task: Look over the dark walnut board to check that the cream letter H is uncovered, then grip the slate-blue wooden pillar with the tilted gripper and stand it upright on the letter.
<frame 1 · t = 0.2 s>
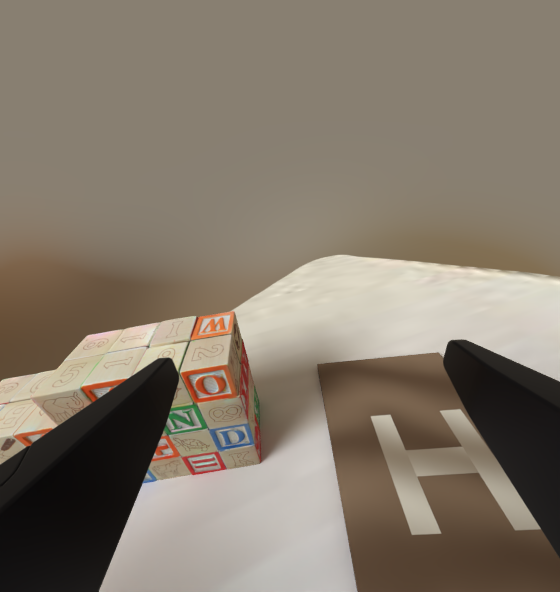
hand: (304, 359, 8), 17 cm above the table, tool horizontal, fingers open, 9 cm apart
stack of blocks: (154, 449, 23), on the table
letter board: (419, 452, 19), on the table
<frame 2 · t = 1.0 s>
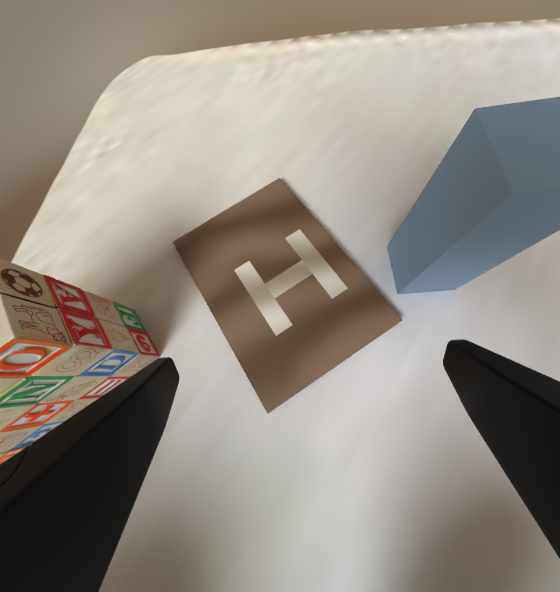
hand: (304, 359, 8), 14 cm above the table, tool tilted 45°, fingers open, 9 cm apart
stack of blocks: (55, 400, 23), on the table
letter board: (275, 278, 24), on the table
blue pillar: (419, 267, 23), on the table
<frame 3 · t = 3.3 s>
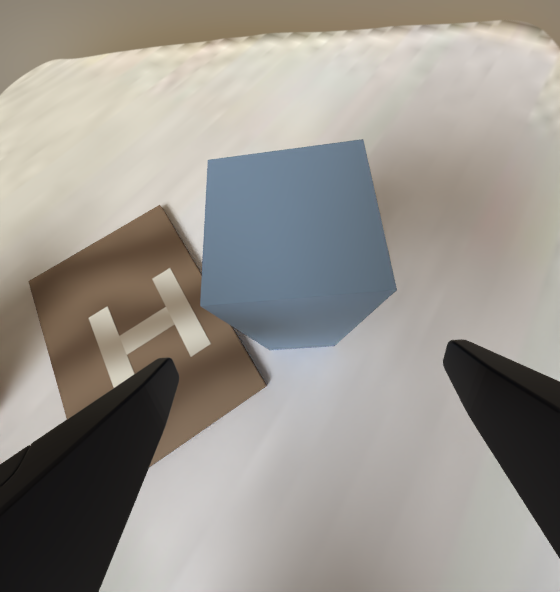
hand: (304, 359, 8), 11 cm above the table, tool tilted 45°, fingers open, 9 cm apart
letter board: (136, 328, 20), on the table
blue pillar: (299, 316, 19), on the table
when the fingers open (8 cm above the table, at t = 9.0 s): blue pillar drops 1 cm, resting on letter board.
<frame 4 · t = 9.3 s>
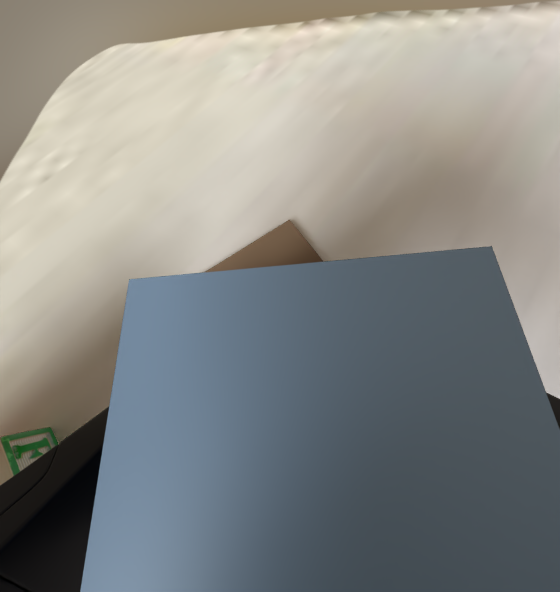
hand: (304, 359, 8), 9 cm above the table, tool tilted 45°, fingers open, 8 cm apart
letter board: (285, 382, 16), on the table
blue pillar: (307, 388, 15), point 1 cm above the table, touching letter board
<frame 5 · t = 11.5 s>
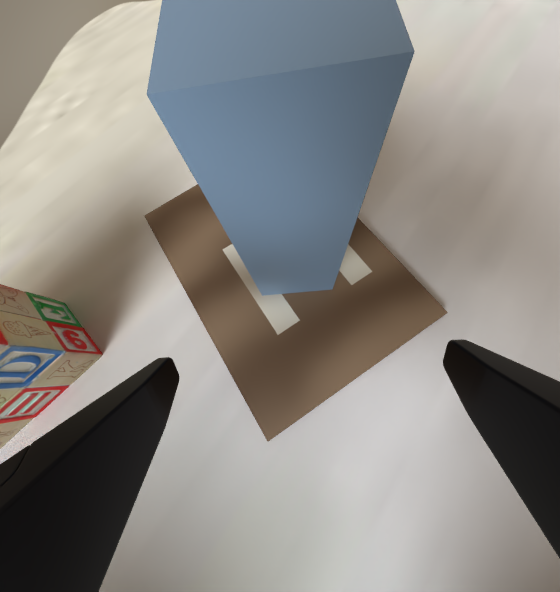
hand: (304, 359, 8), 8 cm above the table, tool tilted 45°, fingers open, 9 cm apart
letter board: (276, 261, 18), on the table
blue pillar: (294, 260, 17), point 1 cm above the table, touching letter board
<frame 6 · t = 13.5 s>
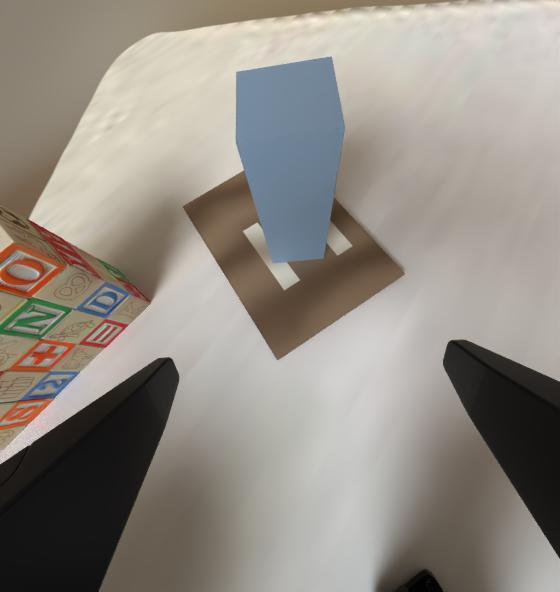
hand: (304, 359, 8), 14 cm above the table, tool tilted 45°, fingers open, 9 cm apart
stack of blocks: (56, 363, 24), on the table
letter board: (282, 239, 25), on the table
blue pillar: (296, 238, 24), point 1 cm above the table, touching letter board
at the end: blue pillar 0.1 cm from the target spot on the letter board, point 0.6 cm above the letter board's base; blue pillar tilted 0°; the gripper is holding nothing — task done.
